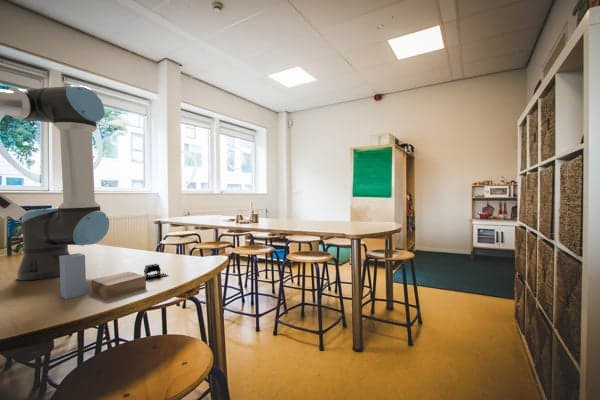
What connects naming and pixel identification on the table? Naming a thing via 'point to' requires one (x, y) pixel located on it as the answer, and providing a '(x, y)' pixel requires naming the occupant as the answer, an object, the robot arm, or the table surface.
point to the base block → (118, 284)
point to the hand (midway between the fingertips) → (15, 215)
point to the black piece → (151, 269)
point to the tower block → (72, 275)
